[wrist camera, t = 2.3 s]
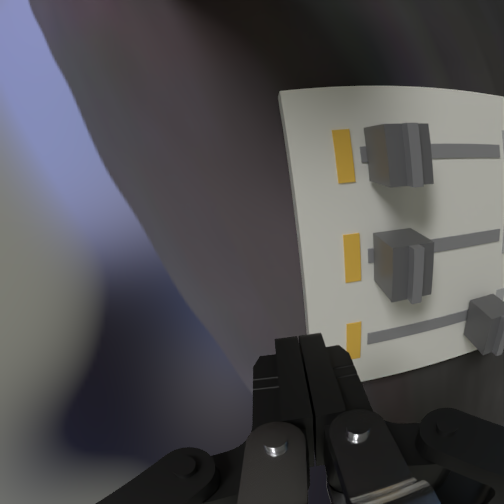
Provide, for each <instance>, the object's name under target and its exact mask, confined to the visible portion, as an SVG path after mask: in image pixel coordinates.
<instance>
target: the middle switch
mask: <svg viewBox="0 0 504 504" xmlns="http://www.w3.org/2000/svg"><path fill="white" fill-rule="evenodd" d="M373 248H374V281H375V282H376V284H377V285H378V286H379V287H380V289H381V290H382V291H383V292H384V293H385V295H386V296H387V297H388V299H389V300H390V301H391V302H397V301H402V300H408V301H409V302H410V303H411V304H416V303H420V302H421V301H422V296H426V295H430V294H431V291H432V279H433V263H434V242H433V241H432V240H430V239H428V238H427V237H425V236H423V235H422V234H420V233H418V232H417V231H415V230H413V229H411V228H406V229H398V230H391V231H384V232H376V233H373Z"/></svg>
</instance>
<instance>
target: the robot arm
mask: <svg viewBox="0 0 504 504" xmlns="http://www.w3.org/2000/svg"><path fill="white" fill-rule="evenodd" d="M275 348H276V354H275V355H267V356H260V357H259V359H258V360H257V362H256V364H255V365H254V367H253V426H252V431H251V433H250V435H249V436H248V438H247V440H246V441H245V442H244V443H243V444H242V445H240V446H239V447H237V448H235V449H233V450H230V451H227V452H224V453H220V454H217V455H213V456H210V455H209V454H208V453H207V452H205V451H203V450H201V449H198V448H190V447H187V448H181V449H177V450H174V451H172V452H170V453H169V454H167V455H165V456H164V457H163V458H161V459H160V460H159V461H158V462H156V463H155V464H154V465H152V466H151V467H149V468H148V469H147V470H145V471H144V472H142V473H141V474H140V475H138V476H137V477H135V478H134V479H132V480H131V481H129V482H128V483H127V484H125V485H124V486H122V487H121V488H119V489H118V490H116V491H115V492H113V493H112V494H110V495H109V496H107V497H105V498H104V499H103V500H101V501H99V502H98V503H96V504H308V489H309V486H310V469H309V467H313V466H314V454H315V460H316V465H317V466H319V465H325V469H326V474H327V484H326V485H327V490H328V494H329V497H330V501H331V504H504V427H503V426H500V425H497V424H495V423H492V422H489V421H486V420H483V419H481V418H478V417H475V416H472V415H470V414H467V413H464V412H462V411H459V410H456V409H452V408H440V409H436V410H434V411H432V412H430V413H429V414H427V415H426V416H425V417H424V418H423V420H422V422H421V423H413V424H396V423H391V422H388V421H385V420H383V418H382V417H381V416H380V415H378V414H377V413H375V412H373V410H372V408H371V406H370V403H369V401H368V398H367V396H366V393H365V391H364V388H363V386H362V383H361V381H360V378H359V376H358V375H357V371H356V368H355V366H354V364H353V361H352V359H351V356H350V354H349V353H348V352H347V351H346V350H345V349H343V348H342V347H341V346H340V345H335V346H330V347H326V346H325V343H324V340H323V337H322V334H321V333H315V334H308V335H301V336H299V343H298V338H297V336H295V337H287V338H280V339H275Z"/></svg>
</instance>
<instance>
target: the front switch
mask: <svg viewBox="0 0 504 504" xmlns="http://www.w3.org/2000/svg"><path fill="white" fill-rule="evenodd" d="M364 135H365V143H366V151H367V160H368V170H369V181H371V182H374V183H377V184H381V185H384V186H387V187H401V186H409V187H424V185H426V184H434V180H433V165H432V152H431V142H430V133H429V125H428V123H401V124H380V125H375V126H370V127H365V128H364Z"/></svg>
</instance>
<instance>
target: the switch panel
mask: <svg viewBox="0 0 504 504" xmlns="http://www.w3.org/2000/svg"><path fill="white" fill-rule="evenodd" d="M278 102H279V108H280V114H281V121H282V127H283V133H284V140H285V147H286V154H287V161H288V168H289V175H290V182H291V190H292V198H293V206H294V214H295V222H296V230H297V239H298V248H299V257H300V267H301V276H302V287H303V297H304V308H305V320H306V332H307V335H308V334H315V333H321V334H322V337H323V340H324V343H325V346H326V347H330V346H335V345H340V346H341V347H342V348H343V349H345V350H346V351H347V352H348V353H349V354H350V356H351V359H352V361H353V364H354V366H355V368H356V371H357V375H358V376H359V378H360V381H361V382H363V381H367V380H372V379H376V378H381V377H385V376H389V375H394V374H398V373H402V372H406V371H409V370H413V369H417V368H420V367H424V366H428V365H431V364H434V363H438V362H441V361H444V360H447V359H451V358H454V357H457V356H460V355H463V354H466V353H469V352H472V351H474V350H477V348H476V347H475V346H474V345H473V344H472V343H471V342H470V341H469V340H468V338H467V337H466V336H465V335H464V330H465V325H466V320H467V315H468V309H469V303H470V300H472V299H476V298H479V297H483V296H486V295H490V294H494V295H496V296H497V297H498V298H500V299H501V300H502V301H503V302H504V97H502V96H496V95H490V94H483V93H476V92H469V91H460V90H451V89H440V88H427V87H409V86H340V87H321V88H307V89H295V90H285V91H280V92H279V95H278ZM401 123H428V125H429V133H430V142H431V152H432V165H433V180H434V184H426V185H424V187H409V186H401V187H387V186H384V185H381V184H377V183H374V182H371V181H369V170H368V160H367V151H366V143H365V135H364V128H365V127H370V126H375V125H380V124H401ZM406 228H411V229H413V230H415V231H417V232H418V233H420V234H422V235H423V236H425V237H427V238H428V239H430V240H432V241H433V242H434V263H433V279H432V291H431V294H430V295H426V296H422V301H421V302H420V303H416V304H411V303H410V302H409V301H408V300H402V301H397V302H391V301H390V300H389V299H388V297H387V296H386V295H385V293H384V292H383V291H382V290H381V289H380V287H379V286H378V285H377V284H376V282H375V281H374V248H373V233H376V232H384V231H391V230H398V229H406Z"/></svg>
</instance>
